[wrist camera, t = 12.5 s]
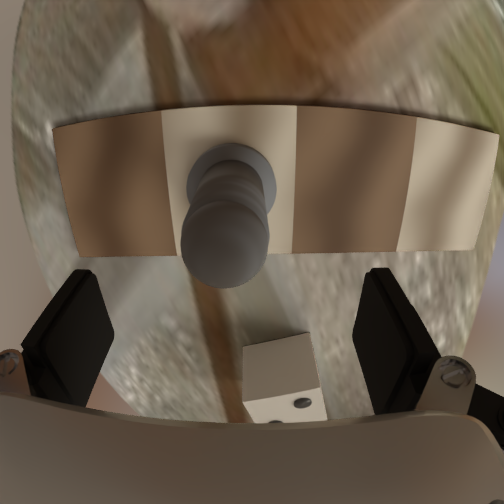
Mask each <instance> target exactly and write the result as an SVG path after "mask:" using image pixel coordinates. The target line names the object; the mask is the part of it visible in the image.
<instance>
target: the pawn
mask: <svg viewBox="0 0 504 504" xmlns="http://www.w3.org/2000/svg"><path fill="white" fill-rule="evenodd" d="M186 192H187V198H188V201H189V204H190V207H189V209H188V212H187V214H186V217H185V219H184V222H183V225H182V230H181V241H180V246H181V254H182V258H183V261H184V263H185V265H186V267H187V268H188V270H189V271H190V273H191V274H192V275H193V276H194V277H195V278H197V279H198V280H199V281H201V282H202V283H204V284H206V285H209V286H212V287H215V288H233V287H236V286H240V285H242V284H244V283H246V282H248V281H249V280H251V279H252V278H253V277H254V276H255V275H256V274H257V273H258V272H259V271H260V269H261V267H262V266H263V264H264V262H265V259H266V256H267V252H268V245H269V239H270V234H269V225H268V218H267V214H268V213H269V212H270V210H271V208H272V207H273V204H274V202H275V198H276V192H277V186H276V179H275V176H274V172H273V169H272V167H271V165H270V163H269V162H268V161H267V159H266V158H265V157H264V156H263V155H262V154H261V153H260V152H259V151H257V150H255V149H254V148H252V147H250V146H247V145H244V144H239V143H224V144H220V145H217V146H214V147H212V148H210V149H208V150H207V151H205V152H204V153H203V154H202V155H201V156H200V157H199V158H198V159H197V160H196V162H195V164H194V165H193V167H192V169H191V170H190V173H189V175H188V179H187V185H186Z"/></svg>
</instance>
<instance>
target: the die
mask: <svg viewBox="0 0 504 504" xmlns="http://www.w3.org/2000/svg"><path fill="white" fill-rule="evenodd" d="M242 402H243V404H244V406H245V407H246V409H247V411H248V412H249V414H250V416H251V417H252V419H253V421H254V422H255V423H292V422H310V421H324V420H327V415H326V409H325V404H324V399H323V393H322V388H321V383H320V378H319V373H318V368H317V364H316V359H315V355H314V350H313V346H312V342H311V337H310V333H305V334H300V335H296V336H291V337H287V338H282V339H278V340H273V341H268V342H264V343H259V344H254V345H249V346H244V347H243V378H242Z"/></svg>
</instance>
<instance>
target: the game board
mask: <svg viewBox="0 0 504 504" xmlns="http://www.w3.org/2000/svg"><path fill="white" fill-rule="evenodd" d="M52 132H53V139H54V145H55V152H56V158H57V163H58V169H59V174H60V179H61V184H62V189H63V194H64V198H65V203H66V207H67V211H68V215H69V219H70V223H71V227H72V231H73V235H74V238H75V242H76V246H77V249H78V252H79V256H80V257H115V256H178V255H182V254H181V246H180V241H181V230H182V225H183V222H184V219H185V217H186V214H187V212H188V209H189V207H190V204H189V201H188V198H187V192H186V185H187V179H188V175H189V173H190V170H191V169H192V167H193V165H194V164H195V162H196V160H197V159H198V158H199V157H200V156H201V155H202V154H203V153H204V152H205V151H207V150H208V149H210V148H212V147H214V146H217V145H220V144H224V143H239V144H244V145H247V146H250V147H252V148H254V149H255V150H257V151H259V152H260V153H261V154H262V155H263V156H264V157H265V158H266V159H267V161H268V162H269V163H270V165H271V167H272V169H273V172H274V176H275V179H276V186H277V192H276V198H275V202H274V204H273V207H272V208H271V210H270V212H269V213H268V214H267V218H268V225H269V234H270V239H269V245H268V252H267V254H293V253H347V252H398V251H447V250H474V247H475V243H476V240H477V237H478V233H479V230H480V226H481V223H482V219H483V215H484V212H485V208H486V203H487V199H488V195H489V191H490V186H491V181H492V176H493V171H494V166H495V160H496V154H497V148H498V141H499V135H498V134H496V133H492V132H488V131H484V130H480V129H476V128H472V127H468V126H463V125H459V124H454V123H449V122H444V121H439V120H434V119H428V118H422V117H416V116H410V115H403V114H396V113H389V112H381V111H372V110H363V109H353V108H341V107H326V106H308V105H222V106H203V107H189V108H177V109H166V110H157V111H148V112H140V113H133V114H126V115H119V116H113V117H106V118H101V119H95V120H90V121H84V122H79V123H74V124H69V125H65V126H60V127H56V128H53V129H52Z"/></svg>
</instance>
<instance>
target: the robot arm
mask: <svg viewBox="0 0 504 504" xmlns="http://www.w3.org/2000/svg"><path fill="white" fill-rule="evenodd" d="M352 338H353V343H354V346H355V349H356V352H357V355H358V359H359V362H360V365H361V368H362V372H363V375H364V378H365V382H366V385H367V388H368V392H369V395H370V399H371V402H372V406H373V409H374V413H375V415H373V416H365V417H356V418H346V419H335V420H324V421H310V422H292V423H212V422H194V421H180V420H169V419H159V418H150V417H142V416H134V415H127V414H120V413H113V412H107V411H101V410H96V409H90V408H85V407H86V404H87V402H88V399H89V396H90V394H91V391H92V389H93V387H94V384H95V382H96V379H97V377H98V375H99V372H100V370H101V367H102V365H103V363H104V360H105V358H106V356H107V353H108V351H109V349H110V347H111V344H112V342H113V340H114V329H113V327H112V324H111V321H110V318H109V315H108V312H107V309H106V306H105V303H104V300H103V297H102V294H101V291H100V287H99V284H98V281H97V278H96V275H95V274H92V272H91V271H90V270H82V269H76V270H74V271H73V272H72V274H71V275H70V276H69V277H68V279H67V280H66V281H65V283H64V284H63V285H62V287H61V288H60V289H59V290H58V292H57V293H56V295H55V296H54V297H53V299H52V300H51V301H50V303H49V304H48V305H47V307H46V308H45V310H44V311H43V312H42V314H41V315H40V317H39V318H38V320H37V321H36V323H35V324H34V325H33V327H32V328H31V330H30V331H29V333H28V334H27V336H26V337H25V339H24V340H23V342H22V343H21V346H22V348H23V349H24V350H23V352H22V353H20V352H19V351H18V350H15V349H7V350H4V351H2V352H0V504H504V397H502V396H500V395H498V394H496V393H494V392H492V391H490V390H488V389H486V388H484V387H482V386H480V385H478V384H476V374H475V371H474V369H473V368H472V366H471V365H470V364H469V363H468V362H467V361H466V360H464V359H462V358H460V357H457V356H444V357H441V355H440V353H439V351H438V350H437V348H436V346H435V344H434V342H433V340H432V338H431V337H430V335H429V333H428V331H427V329H426V328H425V326H424V324H423V322H422V320H421V319H420V317H419V315H418V313H417V312H416V310H415V308H414V307H413V306H412V305H411V304H410V302H409V300H408V299H407V297H406V295H405V293H404V292H403V290H402V289H401V287H400V285H399V284H398V282H397V280H396V279H395V277H394V275H393V274H392V272H391V271H390V269H389V268H372V269H371V271H370V272H367V273H366V275H365V279H364V284H363V288H362V293H361V298H360V302H359V307H358V311H357V316H356V320H355V324H354V328H353V334H352Z"/></svg>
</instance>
